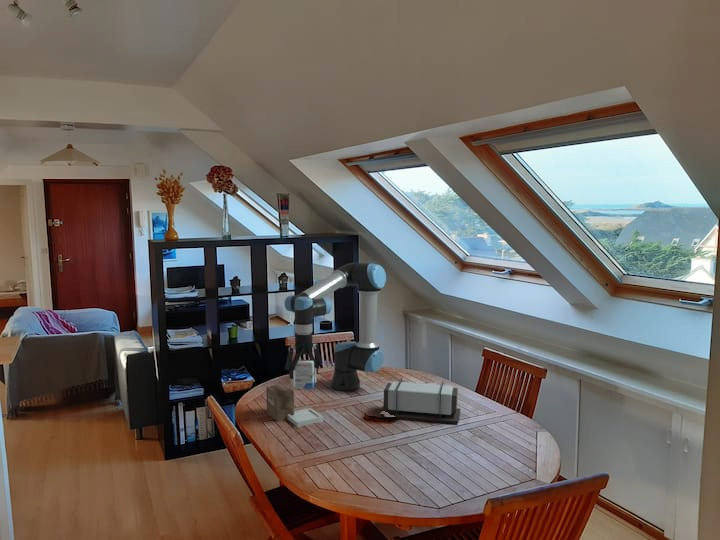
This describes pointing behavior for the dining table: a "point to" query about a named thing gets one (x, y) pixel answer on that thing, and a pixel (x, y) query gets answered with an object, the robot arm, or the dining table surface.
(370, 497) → the dining table surface
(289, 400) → the block
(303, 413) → the tray
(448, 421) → the strapped grey crate
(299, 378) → the ink box
